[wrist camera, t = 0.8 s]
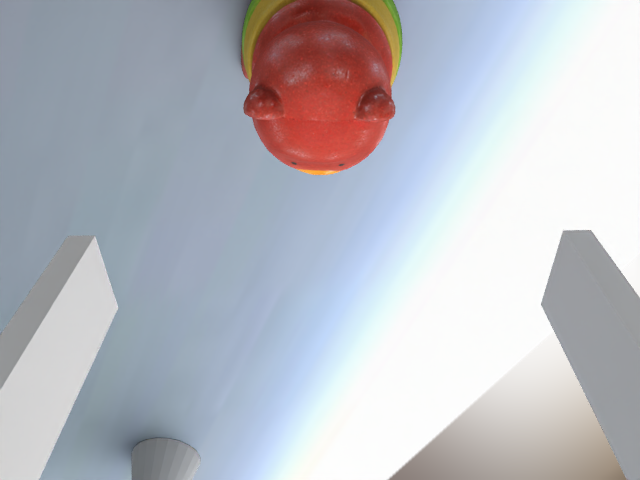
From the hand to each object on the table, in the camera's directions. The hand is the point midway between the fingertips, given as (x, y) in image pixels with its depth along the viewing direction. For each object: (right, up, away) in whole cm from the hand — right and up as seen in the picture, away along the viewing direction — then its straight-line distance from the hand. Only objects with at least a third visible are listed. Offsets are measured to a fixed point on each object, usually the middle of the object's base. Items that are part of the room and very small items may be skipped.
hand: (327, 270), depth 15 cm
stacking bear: (0, +16, +22) cm, 27 cm away
